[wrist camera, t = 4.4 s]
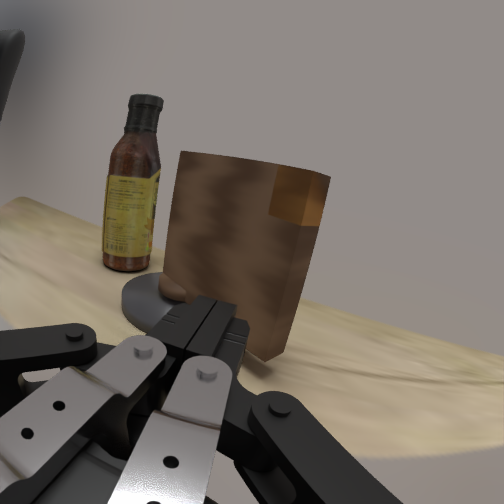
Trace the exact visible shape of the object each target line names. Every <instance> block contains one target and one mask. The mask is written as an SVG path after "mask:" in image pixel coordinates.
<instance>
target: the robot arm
mask: <svg viewBox="0 0 504 504" xmlns="http://www.w3.org/2000/svg"><path fill="white" fill-rule="evenodd" d="M24 44H25V35H24V32H23V31H21V30H18V29H14V30H2V31H0V124H1V119H2V114H3V111H4V108H5V104H6V101H7V98H8V94H9V90H10V87H11V84H12V81H13V78H14V75H15V73H16V70H17V67H18V64H19V62H20V59H21V56H22V52H23V49H24ZM236 312H237V305H235V304H232V303H228V302H224V301H221V300H217V299H213V298H210V297H206V296H202V295H198V296H197V298H196V299H195V300H194V301H193V302H192V303H191V305H189V304H186V303H181V304H179V305H176V306H173V307H172V308H171V309H170V310H169V311H168V312H167V314H165V315H164V316H163V317H162V319H161V320H160V321H159V322H158V323H157V324H156V325H155V326H154V327H153V328H152V329H151V330H150V331H149V332H148V333H147V334H146V335H145V336H144V335H137V336H131V337H129V338H126V339H125V340H123V341H122V342H121V343H120V344H119V345H117V346H113V345H108V344H103V343H97V340H96V333H95V331H94V330H93V329H92V328H90V327H89V326H87V325H84V324H79V323H70V324H62V325H53V326H44V327H35V328H26V329H16V330H6V331H0V504H218V503H216V502H215V501H213V500H212V499H210V498H209V497H207V496H205V494H206V490H207V485H208V481H209V477H210V473H211V468H212V464H213V459H214V455H215V451H216V450H217V451H218V452H220V453H222V454H224V455H225V456H227V457H229V458H231V459H232V460H234V466H235V468H236V470H237V471H238V473H239V474H240V476H241V477H242V479H243V480H244V482H245V483H246V485H247V486H248V488H249V489H250V491H251V492H252V494H253V495H254V497H255V498H256V499H257V501H258V502H259V504H403V503H402V502H401V501H400V500H399V499H397V498H396V497H395V496H394V495H393V494H392V493H390V492H389V491H388V490H387V489H386V488H385V487H384V486H383V485H382V484H381V483H380V482H379V481H378V480H376V479H375V478H374V477H373V476H372V475H371V474H370V473H369V472H368V471H367V470H366V469H365V468H364V467H363V466H362V465H361V464H360V463H359V462H358V461H357V460H356V459H355V458H354V457H353V456H352V455H351V454H350V453H349V452H348V451H347V450H346V449H345V448H344V447H343V446H342V445H341V444H340V443H339V442H338V441H337V440H336V439H335V438H334V437H333V436H332V435H331V434H330V433H329V432H328V431H327V430H326V429H325V428H324V427H323V426H322V425H321V424H320V423H319V422H318V420H317V419H316V418H315V417H314V416H313V415H312V414H311V413H310V412H309V411H308V410H307V409H306V408H305V407H304V405H303V404H302V403H301V402H300V401H299V400H298V399H296V398H295V397H293V396H291V395H289V394H287V393H283V392H279V391H268V392H264V393H261V394H259V395H258V396H257V395H255V394H253V393H251V392H250V391H248V390H246V389H245V388H244V387H243V386H242V385H241V384H240V383H239V382H238V380H237V376H238V373H239V369H240V367H241V364H242V361H243V357H244V352H245V348H246V344H247V340H248V336H249V332H250V327H249V324H248V322H247V321H246V320H242V319H239V318H235V316H236ZM53 368H60V370H61V371H60V372H59V373H57V374H56V375H55V376H54V377H52V378H51V379H50V380H47V381H39V382H28V381H26V380H25V379H24V378H23V376H22V373H24V372H31V371H38V370H45V369H53Z"/></svg>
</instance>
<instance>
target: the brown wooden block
mask: <svg viewBox="0 0 504 504" xmlns="http://www.w3.org/2000/svg"><path fill="white" fill-rule="evenodd" d="M330 179H331V177H330V176H327V175H324V174H321V173H318V172H315V171H311V170H306V169H301V168H296V167H291V166H285V165H280V164H274V163H268V162H263V161H256V160H250V159H244V158H237V157H229V156H222V155H214V154H206V153H197V152H188V151H181V153H180V158H179V163H178V169H177V175H176V180H175V186H174V192H173V198H172V205H171V212H170V219H169V226H168V234H167V241H166V249H165V258H164V267H163V273H162V274H161V275H160V276H159V284H158V290H159V292H160V293H161V294H162V295H164V296H165V297H167V298H170V299H173V300H177V301H183V302H186V303H187V304H189V305H191V303H192V302H193V301H194V300H195V299H196V298H197V296H198V295H202V296H206V297H210V298H213V299H217V300H221V301H224V302H228V303H232V304H235V305H237V312H236V316H235V318H239V319H242V320H246V321H247V322H248V324H249V327H250V332H249V336H248V340H247V344H246V349H247V350H248V351H250V352H251V353H252V354H254V355H255V356H257V357H258V358H259V359H261V360H262V361H264V362H266V361H268V360H270V359H272V358H274V357H276V356H277V355H279V354H281V353H283V352H284V349H285V346H286V342H287V339H288V336H289V333H290V330H291V326H292V323H293V320H294V317H295V313H296V310H297V307H298V303H299V300H300V296H301V293H302V289H303V286H304V282H305V279H306V275H307V272H308V268H309V264H310V260H311V257H312V253H313V249H314V245H315V241H316V238H317V234H318V230H319V226H320V222H321V218H322V213H323V209H324V205H325V201H326V196H327V192H328V188H329V183H330Z"/></svg>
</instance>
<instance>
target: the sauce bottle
mask: <svg viewBox="0 0 504 504" xmlns="http://www.w3.org/2000/svg"><path fill="white" fill-rule="evenodd" d="M163 102H164V101H163V99H162V98H161V97H158V96H155V95H150V94H135V95H132V96H131V97H130V100H129V104H128V108H129V112H128V117H127V122H126V126H125V127H124V136H123V137H122V138H121V139H120V140H119V142H118V143H117V144H116V146H115V147H114V149H113V151H112V153H111V157H110V165H109V172H108V176H107V181H106V190H105V201H104V214H103V230H102V252H103V261H104V264H105V265H107V266H108V267H110V268H112V269H115V270H119V271H134V270H142V269H144V268H145V267H147V266H148V264H149V261H150V253H151V251H152V239H153V228H154V219H155V208H156V201H157V193H158V185H159V178H160V171H161V164H160V157H159V151H158V144H157V137H156V133H157V125H158V124H157V123H158V119H159V114H160V112H161V111H162V108H163Z"/></svg>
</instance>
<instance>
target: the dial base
mask: <svg viewBox="0 0 504 504" xmlns="http://www.w3.org/2000/svg"><path fill="white" fill-rule="evenodd" d="M162 273H163V272H158V273H149V274H145V275H141V276H138V277H136V278H133V279H132V280H130V281H129V282H127V283H126V284H125V286H124V287H123V290H122V310H123V313H124V315H125V317H126V318H127V319H128V320H129V321H130V322H131V323H132V324H133V325H134V326H136V327H137V328H139V329H140V330H142V331H144V332H146V333H148V332H149V331H150V330H151V329H152V328H153V327H154V326H155V325H156V324H157V323H158V322H159V321H160V320H161V319H162V317H163V316H164V315H165V314H167V312H168V311H169V310H170V309H171V308H172V307H173V306H176V305H179V304H181V303H186V302H183V301H177V300H173V299H170V298H167V297H165V296H164V295H162V294H161V293H160V292H159V290H158V284H159V276H160V275H161V274H162ZM186 304H187V303H186Z"/></svg>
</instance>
